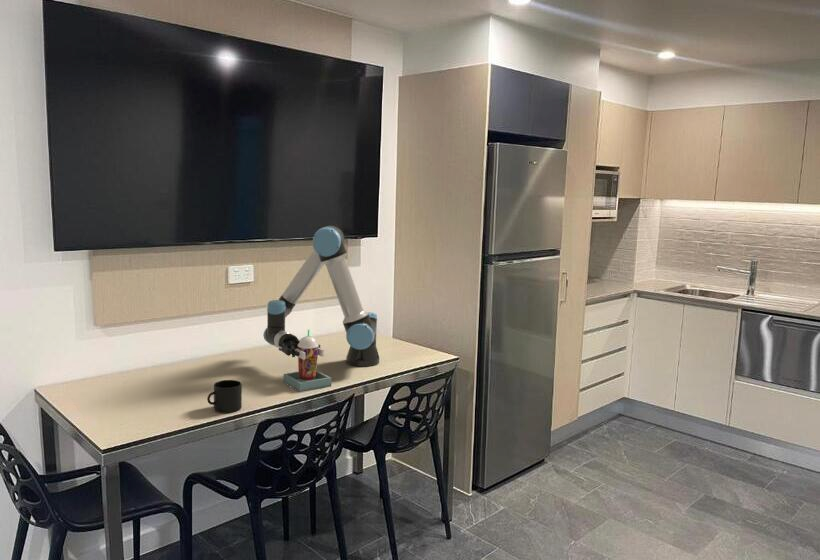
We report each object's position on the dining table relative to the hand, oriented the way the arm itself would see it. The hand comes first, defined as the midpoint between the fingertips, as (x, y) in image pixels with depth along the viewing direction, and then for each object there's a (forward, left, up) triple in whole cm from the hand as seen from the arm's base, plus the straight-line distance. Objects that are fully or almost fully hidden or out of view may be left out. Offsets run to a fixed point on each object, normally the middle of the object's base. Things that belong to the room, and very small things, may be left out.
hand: (313, 354), depth 244 cm
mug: (+38, +4, -14) cm, 41 cm away
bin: (0, -5, -13) cm, 14 cm away
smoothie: (0, -5, -11) cm, 12 cm away
